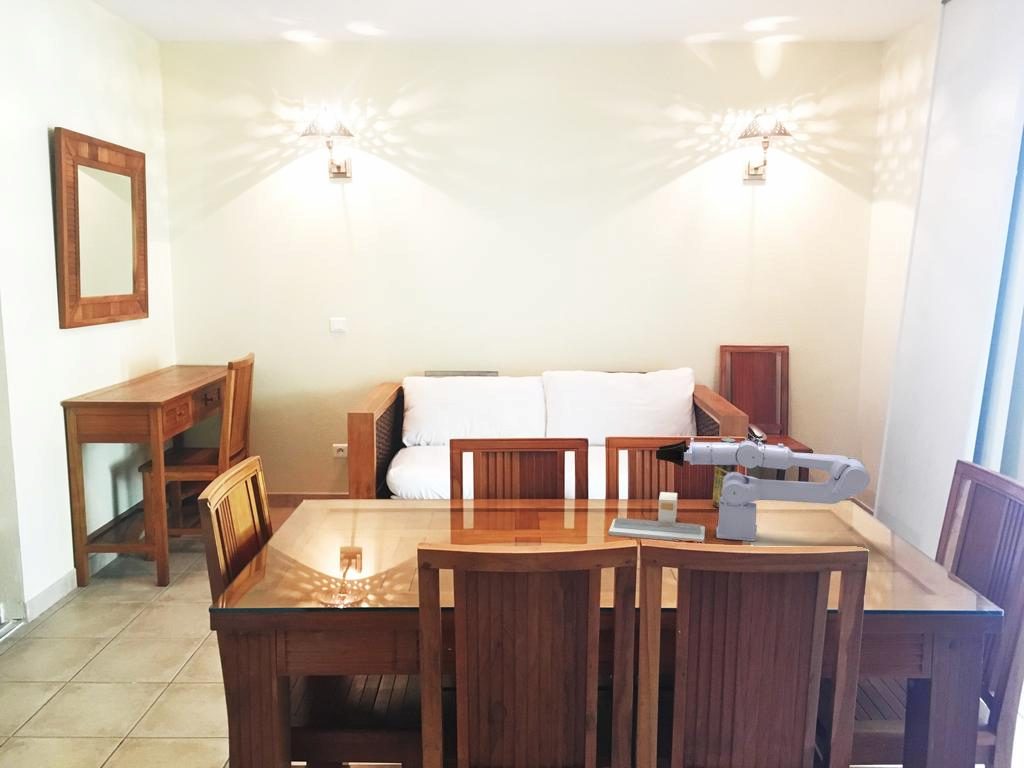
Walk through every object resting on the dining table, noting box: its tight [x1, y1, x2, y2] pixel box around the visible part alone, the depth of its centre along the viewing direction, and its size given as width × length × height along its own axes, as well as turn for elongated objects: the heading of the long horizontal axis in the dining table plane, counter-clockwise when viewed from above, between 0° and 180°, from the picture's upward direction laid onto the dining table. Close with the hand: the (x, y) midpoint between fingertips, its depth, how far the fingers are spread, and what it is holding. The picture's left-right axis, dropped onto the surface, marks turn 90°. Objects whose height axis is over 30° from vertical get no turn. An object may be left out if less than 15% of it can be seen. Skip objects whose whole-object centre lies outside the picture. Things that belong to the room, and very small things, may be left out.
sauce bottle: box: [712, 437, 738, 508], centre depth 227 cm, size 7×6×20 cm
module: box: [657, 491, 678, 523], centre depth 216 cm, size 4×7×7 cm, turn 165°
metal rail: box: [614, 517, 702, 535], centre depth 207 cm, size 22×4×2 cm, turn 75°
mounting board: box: [608, 518, 706, 544], centre depth 207 cm, size 24×10×1 cm, turn 75°
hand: (657, 452), depth 208 cm, fingers open, 7 cm apart
